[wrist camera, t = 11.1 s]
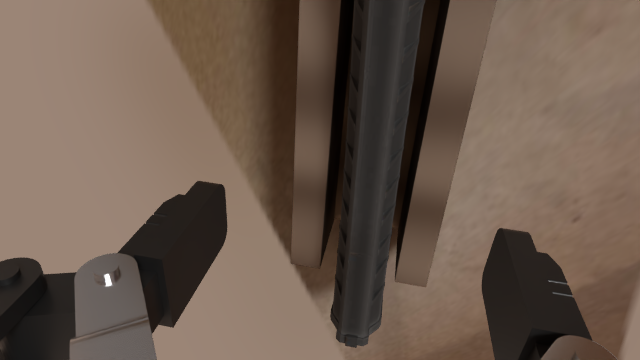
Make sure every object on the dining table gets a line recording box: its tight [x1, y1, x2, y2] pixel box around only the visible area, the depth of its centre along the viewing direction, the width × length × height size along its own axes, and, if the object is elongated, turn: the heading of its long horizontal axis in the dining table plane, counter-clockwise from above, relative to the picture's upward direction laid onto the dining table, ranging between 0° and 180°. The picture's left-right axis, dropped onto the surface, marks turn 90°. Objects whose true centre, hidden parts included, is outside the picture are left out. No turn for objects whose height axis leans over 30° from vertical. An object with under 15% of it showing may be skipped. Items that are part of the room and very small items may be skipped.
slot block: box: [291, 0, 497, 287], centre depth 26 cm, size 24×9×7 cm, turn 176°
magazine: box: [330, 0, 425, 348], centre depth 24 cm, size 17×3×30 cm
